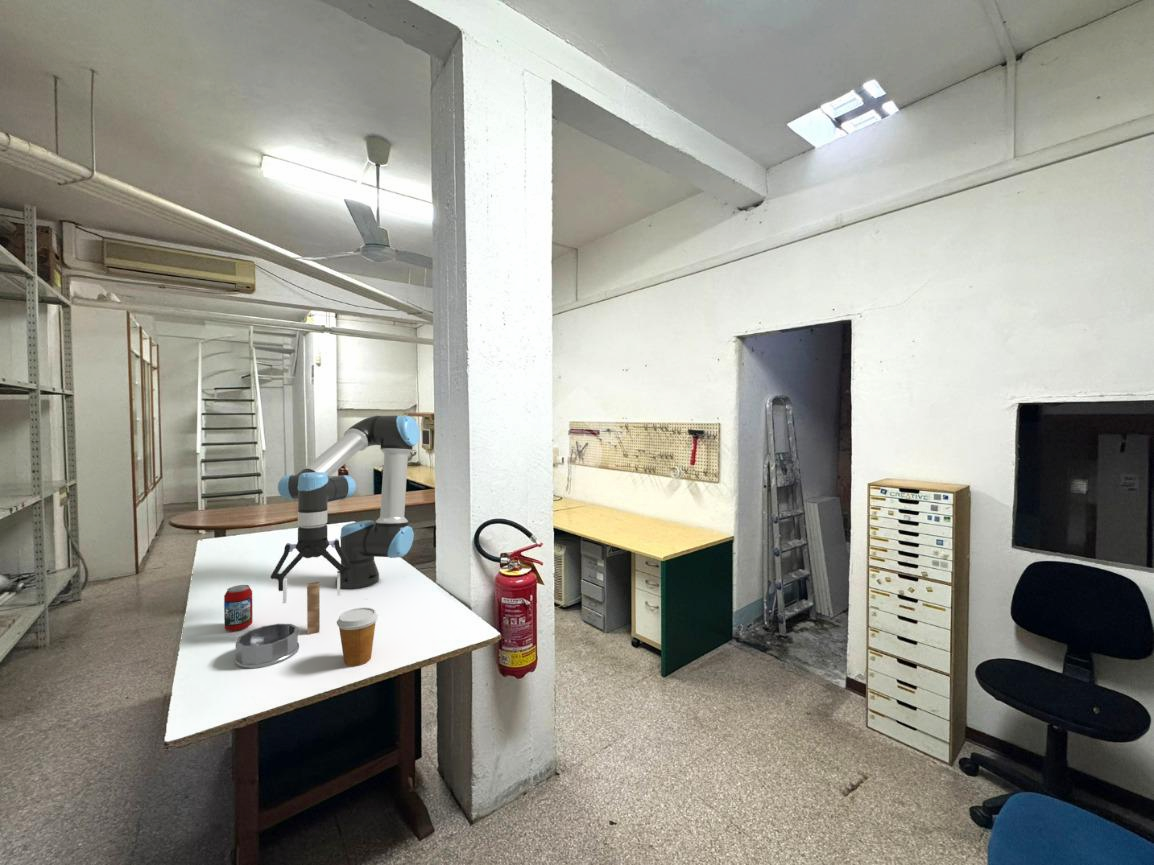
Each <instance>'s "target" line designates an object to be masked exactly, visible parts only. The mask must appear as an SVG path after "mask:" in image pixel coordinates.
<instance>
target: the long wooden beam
mask: <svg viewBox="0 0 1154 865" xmlns="http://www.w3.org/2000/svg"><path fill="white" fill-rule="evenodd" d="M306 592H307V593H306V608H307V609H306V612H307V613H306V616H307V618H306V620H307V621H306V622H307V623H306V627H307V630H306V631H307V633H306V634H307V635H312V634H317V633H318V634H319V633H320V629H321V628H320V627H321V626H320V625H321V624H320V622H321V620H320V618H321V617H320V616H321V613H320V612H321V611H320V608H321V607H320V597H321V596H320V581H315V582H308V583H307V585H306Z"/></svg>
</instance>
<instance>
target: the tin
mask: <svg viewBox="0 0 1154 865" xmlns="http://www.w3.org/2000/svg"><path fill="white" fill-rule="evenodd" d="M298 636H299V627H298V626H296V625H294V624H292V623H276V624H275V623H274V624H268V625H263V626H260V627H257V628H254V629H251V630H248V631H246V632H245V633H243V634H241V635H240V636H238V637H237V640H236V642H235V656H234V657H235V658H234V664H235V666H236V667H238V668H239V669H240V668H241V669H245V670H249V669H250V670H252V669H260V668H266V667H270V666H271V667H272V666H273V665H277V664H279V663H282V662H284V661H286V660H288V659H291V658H292V657H294V655H296V654H297V653H298V652H299V649H300V643H299V642H298V641H299V637H298Z"/></svg>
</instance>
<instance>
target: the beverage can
mask: <svg viewBox="0 0 1154 865" xmlns="http://www.w3.org/2000/svg"><path fill="white" fill-rule="evenodd" d="M223 596H224V597H223V600H224V601H223V608H224V610H223V612H224V614H223V615H224V617H223V618H224V619H223V620H224V629H225V630H227V631H229V632H238V631H242V630H245V629H247V628H248V627H250V626H251V625H252V624H253V590H252V588H251V586H250V585H249V584H239V585H233V586H231V587H229V588H226V592H225V594H224V595H223Z"/></svg>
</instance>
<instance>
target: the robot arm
mask: <svg viewBox="0 0 1154 865" xmlns="http://www.w3.org/2000/svg"><path fill="white" fill-rule="evenodd" d="M419 428H420V427H419V425H418V423H417V420H415V419H414V418H413V417H411V416H410V415H409V416H407V415H400V414H398V415H373V416H368V417H366V418H364V419H361V420H359V421H358V422H356V423H355V424H353V425H351V426H350V427H349V428H347V430H345V432H344V433H343V436H342V437H341V438H340V439H338V440H337V441H335V442H334V443H333V444H332V445H331V446H330V447H328V448H327V449H326V450H325V451H324V452H323V453H321V454H320V455H319V456H317V458H315V459H314V460H313V461H311V462H310V463H309V464H308V465H306V466H305V467H304V468H302V470H300V471H298V473H296V474H287V475H284V476H283V477H281V478H280V479H279V481H278V482H277V483H278V484H277V490H278V491H277V492H278V494H279V495H280V497H282V498H284V499H290V500H298V501H297V502H298V504H297V505H298V508H297V526H299V527H298V528H297V543H296V544H295V543H291V542H290V543H289V542H287V543H286V544H285V546H284V550H283V553H282V555H281V557H280V559H279V561H278V562H277V564H276V565H275V568H274V570H273V572H272V573H271V575H270V579H272V580H277V581H278V582H277V584H278V585H277V586H278V588H277V589H278V592H282V604H287V601H288V577H287V575H288V574H289V573H290V572H291V571H292V570H293V568H294V567H295V566H297V564H298V563H299V562H300V561H301V560H302V559H303V558H304V559H311V558H319V557H320V556H322V557H323V558H324V559H325V560H327V561H328V562H329V563H330V564H331V565H332V566H333V567H334V568H336V570H337V571H336V573H337V574H336V578H335V587H337V588H336V591H337V592H336V593H337V594H336V595H337V596H341V589H345V590H347V589H348V590H350V589H351V590H353V589H354V590H355V589H361V588H365V587H369V586H373V585H375V584H376V583H378V582H379V580H380V572H379V570H378V567H377V564H376V561H375V557H377V558H378V557H379V558H380V557H381V558H390V559H392V558H393V559H395V558H403V557H405V556H406V555H407V554H408V552H409V551H410V549H411V547H412V545H413V542H414V536H415V533H414V531H413V527H411V526H410V525H409V520H408V519H407V518H406V517H405V512H406V511H405V509H406V495H407V494H406V493H407V478H408V477H407V475H408V459H409V455H410V454H411V453H412V452H413V447H414V446H417V444H418V443H419V441H420V437H421V436H420V429H419ZM372 446H380V451H381V452H382V453H383V466H382V467H383V468H382V484H381V499H380V514H379V518H378V519H376V520H375V521H374V520H371V519H370V520H369V519H368V520H361V521H355V522H351V523H348V524H345V525H343V526H342V527H341V529H340V536H339V538H340V539H339V538H335V539H333V540H329V539H328V525H327V523H328V503H329V502H335V501H340V500H342V501H343V500H345V499H347V498H350V497H352V496H353V495H354V493H355V492H356V490H357V487H356V486H357V484H356V482H355V480H354V478H353V477H351V476H350V475H346V474H345V475H342V474H341V475H340V474H339V475H334V474H335V473H336V472H337V471H338V470H339V469H341V468H342V467H343V466H344V465H345V464H346V463H347V462H348V461H349V460H351V459H352V458H353V457H354V456H355V455H357V453H359V452H361V451H364V450H366V449H367V448H369V447H372ZM333 475H334V476H333ZM329 546H331V548H335V551H336V553H337V554H338V556H339V558H340V561H338V560H337V559H336V558H335V557H334V556H333V555H331V553H329V551H328V550H327V548H328V547H329ZM295 549H296V551H297V552H298V554H296V556H295V557H294V558H293V559H292V560H291V561H290V563H289V564H288V565H287V566H286V567H285V569H284V570H283V571H281V573H280V570H281V569H282V566H283V565H284V563H285V561H286V560H287V558H288V557H289V554H290V553H292V552H293V551H294V550H295Z"/></svg>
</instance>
